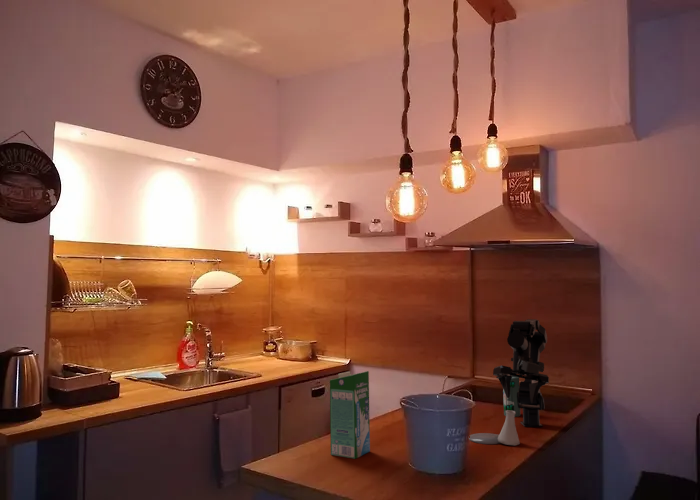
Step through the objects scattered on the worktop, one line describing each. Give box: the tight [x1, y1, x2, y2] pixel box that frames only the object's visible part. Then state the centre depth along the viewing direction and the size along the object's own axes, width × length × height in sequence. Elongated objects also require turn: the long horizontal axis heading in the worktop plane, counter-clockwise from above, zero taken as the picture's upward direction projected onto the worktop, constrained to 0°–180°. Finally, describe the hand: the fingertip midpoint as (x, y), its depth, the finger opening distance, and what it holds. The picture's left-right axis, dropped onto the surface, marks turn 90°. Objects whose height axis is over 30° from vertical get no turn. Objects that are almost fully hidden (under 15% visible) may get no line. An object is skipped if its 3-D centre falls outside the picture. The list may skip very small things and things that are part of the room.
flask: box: [498, 410, 521, 446], centre depth 179 cm, size 7×7×10 cm
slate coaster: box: [468, 432, 502, 445], centre depth 184 cm, size 12×12×1 cm
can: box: [502, 376, 522, 418], centre depth 220 cm, size 6×6×15 cm
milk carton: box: [329, 370, 371, 460], centre depth 171 cm, size 9×9×25 cm
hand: (520, 400), depth 188 cm, fingers open, 9 cm apart
